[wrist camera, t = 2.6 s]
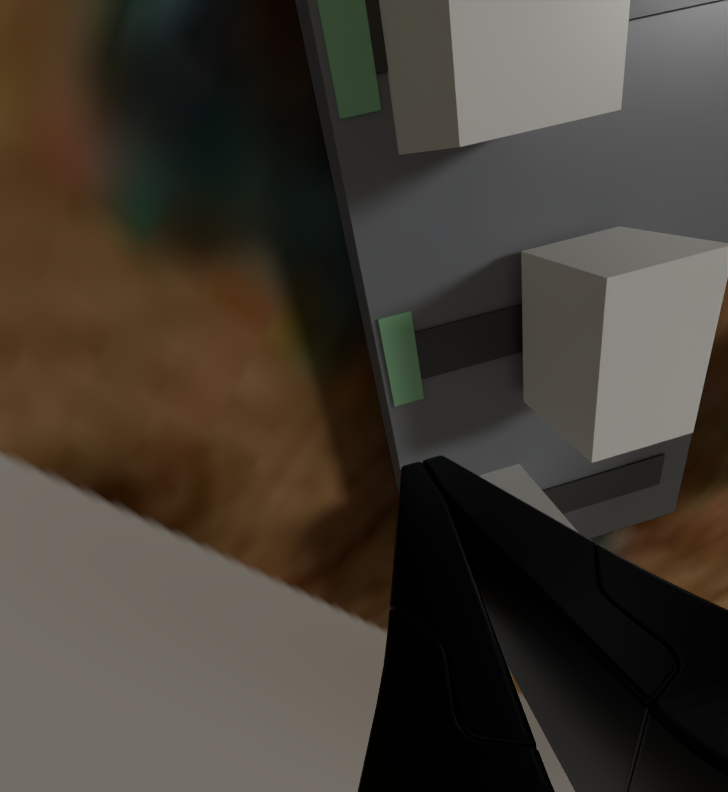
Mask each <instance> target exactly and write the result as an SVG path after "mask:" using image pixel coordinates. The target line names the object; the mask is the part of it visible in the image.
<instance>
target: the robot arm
mask: <svg viewBox="0 0 728 792" xmlns="http://www.w3.org/2000/svg"><path fill="white" fill-rule="evenodd" d="M390 609H391V610H390V611H389V621H388V633H387V642H386V650H385V658H384V666H383V672H382V677H381V683H380V688H379V694H378V700H377V705H376V709H375V714H374V719H373V723H372V728H371V733H370V737H369V742H368V747H367V751H366V756H365V761H364V766H363V770H362V775H361V779H360V784H359V788H358V792H555V791H554V789H553V787H552V784H551V782H550V779H549V777H548V775H547V772H546V769H545V767H544V764H543V762H542V759H541V756H540V754H539V752H538V750H537V749H536V742H535V740H534V737H533V734H532V732H531V729H530V726H529V723H528V721H527V718H526V715H525V713H524V710H523V708H522V705H521V702H520V699H519V696H518V694H517V691H516V688H515V686H514V683H513V680H512V677H511V675H510V672H509V669H510V671H511V673H512V675H513V677H514V679H515V680H516V682H517V684H518V686H519V688H520V690H521V692H522V693H523V695H524V697H525V699H526V701H527V702H528V705H529V706H530V708H531V710H532V712H533V714H534V716H535V718H536V719H537V721H538V723H539V725H540V727H541V729H542V730H543V732H544V734H545V736H546V738H547V740H548V742H549V744H550V745H551V747H552V749H553V751H554V753H555V755H556V756H557V758H558V760H559V762H560V764H561V766H562V768H563V769H564V771H565V773H566V775H567V777H568V779H569V781H570V782H571V784H572V786H573V788H574V790H575V792H728V610H726V609H724V608H722V607H720V606H718V605H716V604H714V603H711V602H709V601H707V600H705V599H703V598H701V597H699V596H697V595H695V594H693V593H690V592H688V591H686V590H684V589H682V588H680V587H678V586H676V585H674V584H672V583H670V582H668V581H666V580H664V579H662V578H660V577H658V576H656V575H654V574H652V573H650V572H648V571H647V570H645V569H643V568H641V567H639V566H637V565H636V564H634V563H632V562H630V561H628V560H626V559H624V558H623V557H621V556H619V555H617V554H615V553H614V552H612V551H610V550H608V549H607V548H605V547H603V546H601V545H599V544H597V545H596V546H595V542H594V541H592V540H590V539H589V538H587V537H585V536H583V535H582V534H580V533H578V532H576V531H575V530H573V529H571V528H569V527H568V526H566V525H564V524H562V523H561V522H559V521H557V520H555V519H554V518H552V517H550V516H548V515H547V514H545V513H543V512H541V511H539V510H538V509H536V508H534V507H532V506H531V505H529V504H527V503H525V502H524V501H522V500H520V499H518V498H517V497H515V496H513V495H511V494H510V493H508V492H506V491H504V490H503V489H501V488H499V487H497V486H496V485H494V484H492V483H490V482H488V481H487V480H485V479H483V478H481V477H480V476H478V475H476V474H474V473H473V472H471V471H469V470H467V469H466V468H464V467H462V466H460V465H459V464H457V463H455V462H453V461H452V460H450V459H448V458H446V457H445V456H442V455H439V456H435V457H432V458H428V459H425V460H424V461H423V462H414V463H411V464H407V465H404V466H403V467H402V468H401V476H400V489H399V501H398V513H397V526H396V538H395V550H394V563H393V575H392V588H391V600H390ZM507 666H508V667H509V669H508V667H507Z"/></svg>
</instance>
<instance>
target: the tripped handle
mask: <svg viewBox="0 0 728 792" xmlns="http://www.w3.org/2000/svg"><path fill="white" fill-rule="evenodd" d="M521 265H522V331H523V397H524V403H525V404H527V405H528V406H529V407H530V408H531V409H532V410H533V411H534V412H535V413H537V414H538V415H539V416H540V417H541V418H542V419H543V420H544V421H546V422H547V423H548V424H549V425H550V426H551V427H552V428H553V429H554V430H556V431H557V432H558V433H559V434H560V435H561V436H562V437H563V438H564V439H566V440H567V441H568V442H569V443H570V444H571V445H572V446H573V447H574V448H576V449H577V450H578V451H579V452H580V453H581V454H582V455H583V456H584V457H586V458H587V459H588V460H589V461H590V462H591V463H593V462H597V461H600V460H603V459H607V458H610V457H613V456H617V455H620V454H623V453H627V452H630V451H633V450H637V449H640V448H643V447H647V446H650V445H653V444H657V443H660V442H663V441H667V440H670V439H673V438H676V437H680V436H683V435H686V434H690V433H693V431H694V427H695V422H696V418H697V413H698V409H699V404H700V400H701V395H702V391H703V386H704V382H705V377H706V373H707V368H708V364H709V359H710V355H711V350H712V346H713V341H714V337H715V332H716V328H717V323H718V319H719V314H720V310H721V305H722V301H723V296H724V292H725V287H726V283H727V278H728V243H724V242H717V241H711V240H704V239H698V238H691V237H685V236H679V235H672V234H666V233H659V232H653V231H646V230H640V229H633V228H627V227H620V226H618V227H614V228H611V229H607V230H603V231H599V232H595V233H591V234H587V235H583V236H579V237H575V238H571V239H567V240H563V241H560V242H556V243H552V244H548V245H544V246H540V247H536V248H532V249H528V250H524V251H521Z"/></svg>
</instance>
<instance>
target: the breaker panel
mask: <svg viewBox="0 0 728 792" xmlns="http://www.w3.org/2000/svg"><path fill="white" fill-rule="evenodd" d="M295 3H296V7H297V12H298V17H299V22H300V27H301V31H302V36H303V41H304V46H305V50H306V55H307V60H308V65H309V69H310V74H311V79H312V84H313V89H314V93H315V98H316V103H317V108H318V112H319V117H320V122H321V127H322V131H323V136H324V141H325V146H326V151H327V155H328V160H329V165H330V170H331V174H332V179H333V184H334V189H335V194H336V198H337V203H338V208H339V213H340V217H341V222H342V227H343V232H344V236H345V241H346V246H347V251H348V256H349V260H350V265H351V270H352V275H353V279H354V284H355V289H356V294H357V299H358V303H359V308H360V313H361V318H362V322H363V327H364V332H365V337H366V341H367V346H368V351H369V356H370V361H371V365H372V370H373V375H374V380H375V384H376V389H377V394H378V399H379V404H380V408H381V413H382V418H383V423H384V427H385V432H386V437H387V442H388V446H389V451H390V456H391V461H392V466H393V470H394V475H395V480H396V485H397V489H398V494H399V489H400V476H401V468H402V467H403V466H404V465H407V464H411V463H414V462H423V461H424V460H425V459H428V458H432V457H435V456H439V455H442V456H445V457H446V458H448V459H450V460H452V461H453V462H455V463H457V464H459V465H460V466H462V467H464V468H466V469H467V470H469V471H471V472H473V473H474V474H476V475H478V476H480V477H481V478H483V479H485V480H487V481H488V482H490V483H492V484H494V485H496V486H497V487H499V488H501V489H503V490H504V491H506V492H508V493H510V494H511V495H513V496H515V497H517V498H518V499H520V500H522V501H524V502H525V503H527V504H529V505H531V506H532V507H534V508H536V509H538V510H539V511H541V512H543V513H545V514H547V515H548V516H550V517H552V518H554V519H555V520H557V521H559V522H561V523H562V524H564V525H566V526H568V527H569V528H571V529H573V530H575V531H576V532H578V533H580V534H582V535H583V536H585V537H587V538H589V539H590V538H593V537H596V536H599V535H602V534H605V533H609V532H612V531H615V530H618V529H621V528H624V527H628V526H631V525H634V524H637V523H640V522H643V521H647V520H650V519H653V518H656V517H659V516H663V515H666V514H669V513H672V512H675V509H676V504H677V500H678V495H679V491H680V486H681V482H682V477H683V473H684V468H685V464H686V459H687V455H688V450H689V445H690V441H691V436H692V433H690V434H686V435H683V436H680V437H676V438H673V439H670V440H667V441H663V442H660V443H657V444H653V445H650V446H647V447H643V448H640V449H637V450H633V451H630V452H627V453H623V454H620V455H617V456H613V457H610V458H607V459H603V460H600V461H597V462H593V463H591V462H590V461H589V460H588V459H587V458H586V457H584V456H583V455H582V454H581V453H580V452H579V451H578V450H577V449H576V448H574V447H573V446H572V445H571V444H570V443H569V442H568V441H567V440H566V439H564V438H563V437H562V436H561V435H560V434H559V433H558V432H557V431H556V430H554V429H553V428H552V427H551V426H550V425H549V424H548V423H547V422H546V421H544V420H543V419H542V418H541V417H540V416H539V415H538V414H537V413H535V412H534V411H533V410H532V409H531V408H530V407H529V406H528V405H527V404H525V403H524V397H523V331H522V265H521V251H524V250H528V249H532V248H536V247H540V246H544V245H548V244H552V243H556V242H560V241H563V240H567V239H571V238H575V237H579V236H583V235H587V234H591V233H595V232H599V231H603V230H607V229H611V228H614V227H618V226H620V227H627V228H633V229H640V230H646V231H653V232H659V233H666V234H672V235H679V236H685V237H691V238H698V239H704V240H711V241H717V242H724V243H728V0H295Z"/></svg>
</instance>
